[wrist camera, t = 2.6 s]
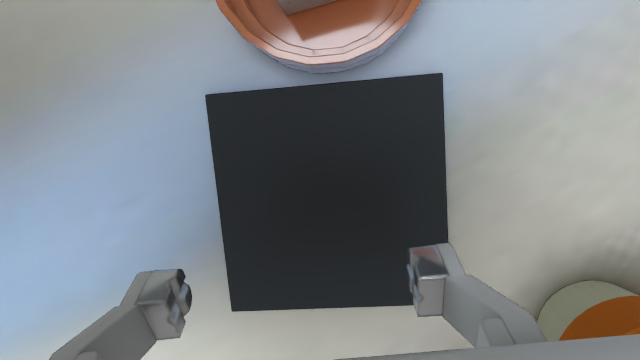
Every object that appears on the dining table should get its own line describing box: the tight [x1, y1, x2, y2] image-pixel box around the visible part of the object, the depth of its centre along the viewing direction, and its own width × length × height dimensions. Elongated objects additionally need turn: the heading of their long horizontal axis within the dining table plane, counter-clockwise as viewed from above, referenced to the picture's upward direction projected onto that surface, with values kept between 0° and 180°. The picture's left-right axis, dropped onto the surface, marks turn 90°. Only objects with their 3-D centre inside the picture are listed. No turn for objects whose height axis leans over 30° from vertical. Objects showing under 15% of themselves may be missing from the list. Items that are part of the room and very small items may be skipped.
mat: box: [205, 73, 448, 311], centre depth 34 cm, size 20×20×1 cm
